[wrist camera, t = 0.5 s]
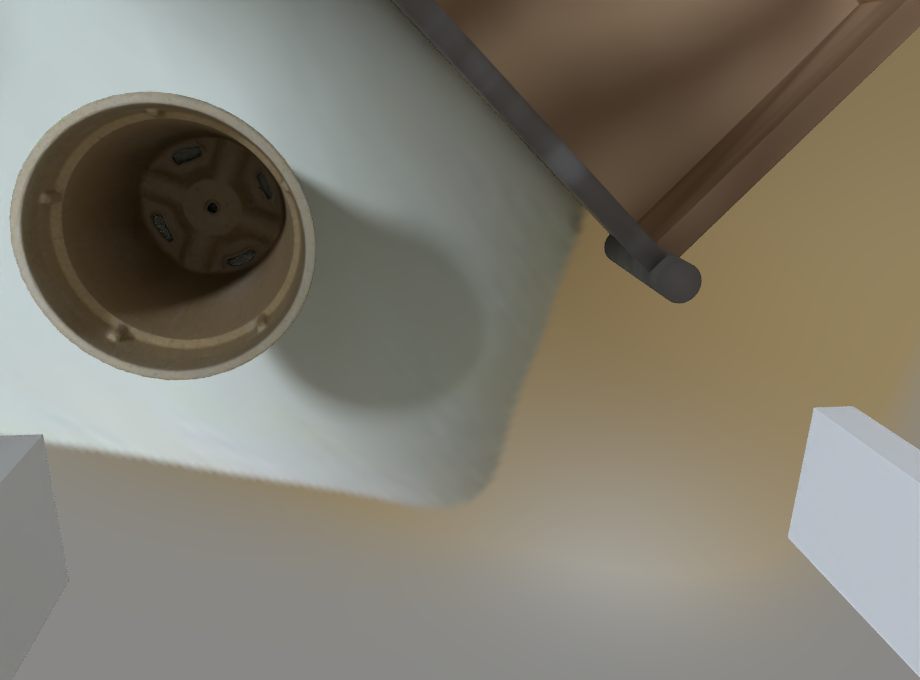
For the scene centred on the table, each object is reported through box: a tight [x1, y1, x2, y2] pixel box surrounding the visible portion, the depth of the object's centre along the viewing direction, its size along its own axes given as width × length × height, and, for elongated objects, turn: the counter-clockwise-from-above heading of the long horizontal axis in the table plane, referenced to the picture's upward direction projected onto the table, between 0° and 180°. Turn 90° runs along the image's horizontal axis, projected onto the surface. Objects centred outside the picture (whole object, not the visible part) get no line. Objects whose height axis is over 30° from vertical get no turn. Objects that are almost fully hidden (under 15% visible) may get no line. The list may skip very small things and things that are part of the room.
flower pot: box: [10, 92, 316, 380], centre depth 28 cm, size 9×9×9 cm
